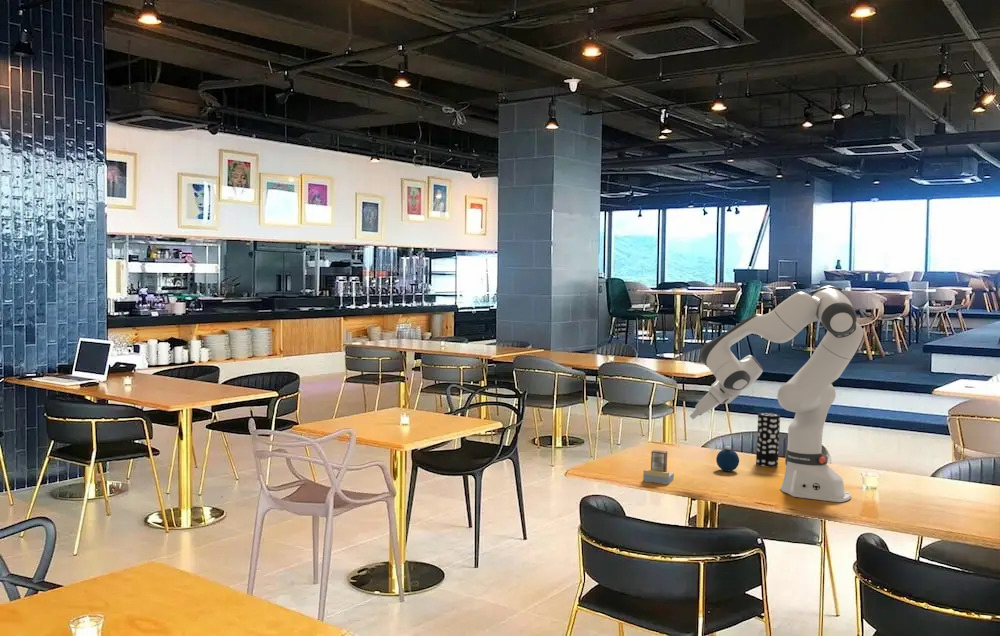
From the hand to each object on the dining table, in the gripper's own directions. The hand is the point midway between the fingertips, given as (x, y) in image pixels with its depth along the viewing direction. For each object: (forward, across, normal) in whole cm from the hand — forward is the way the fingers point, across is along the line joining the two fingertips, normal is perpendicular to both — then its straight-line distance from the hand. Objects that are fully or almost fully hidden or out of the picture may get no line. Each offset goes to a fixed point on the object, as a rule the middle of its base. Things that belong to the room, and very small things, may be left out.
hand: (695, 415), depth 302 cm
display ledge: (+24, +9, +9) cm, 27 cm away
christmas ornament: (+11, -22, +22) cm, 33 cm away
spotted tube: (+4, -43, +30) cm, 52 cm away
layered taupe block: (+22, +8, +8) cm, 25 cm away
